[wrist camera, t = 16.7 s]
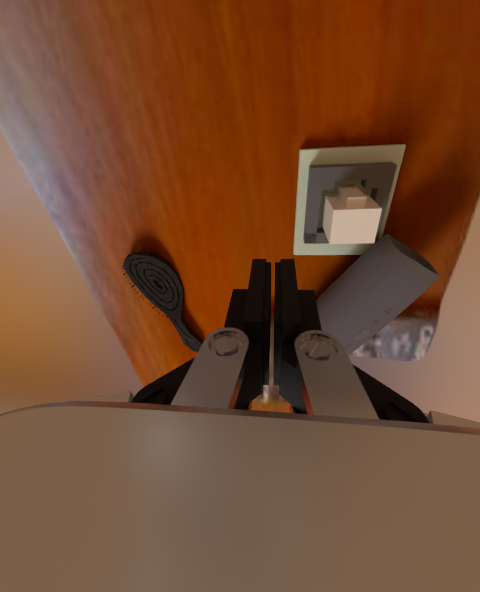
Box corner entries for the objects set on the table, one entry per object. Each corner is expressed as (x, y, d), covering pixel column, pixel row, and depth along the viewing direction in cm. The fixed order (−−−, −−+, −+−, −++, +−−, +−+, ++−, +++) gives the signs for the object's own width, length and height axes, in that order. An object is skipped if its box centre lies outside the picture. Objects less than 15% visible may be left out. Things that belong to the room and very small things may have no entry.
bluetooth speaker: (316, 339, 52) (332, 385, 44) (277, 324, 49) (286, 371, 41) (414, 247, 40) (459, 289, 32) (368, 219, 37) (407, 258, 29)
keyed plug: (325, 185, 34) (334, 200, 29) (366, 183, 34) (384, 198, 28) (321, 223, 37) (329, 244, 32) (359, 222, 37) (374, 243, 31)
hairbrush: (181, 363, 56) (106, 265, 42) (186, 350, 59) (117, 254, 45) (217, 356, 54) (150, 250, 40) (220, 343, 57) (158, 239, 43)
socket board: (299, 148, 33) (301, 152, 31) (402, 144, 32) (413, 147, 29) (293, 251, 41) (294, 261, 39) (375, 251, 40) (381, 261, 37)
